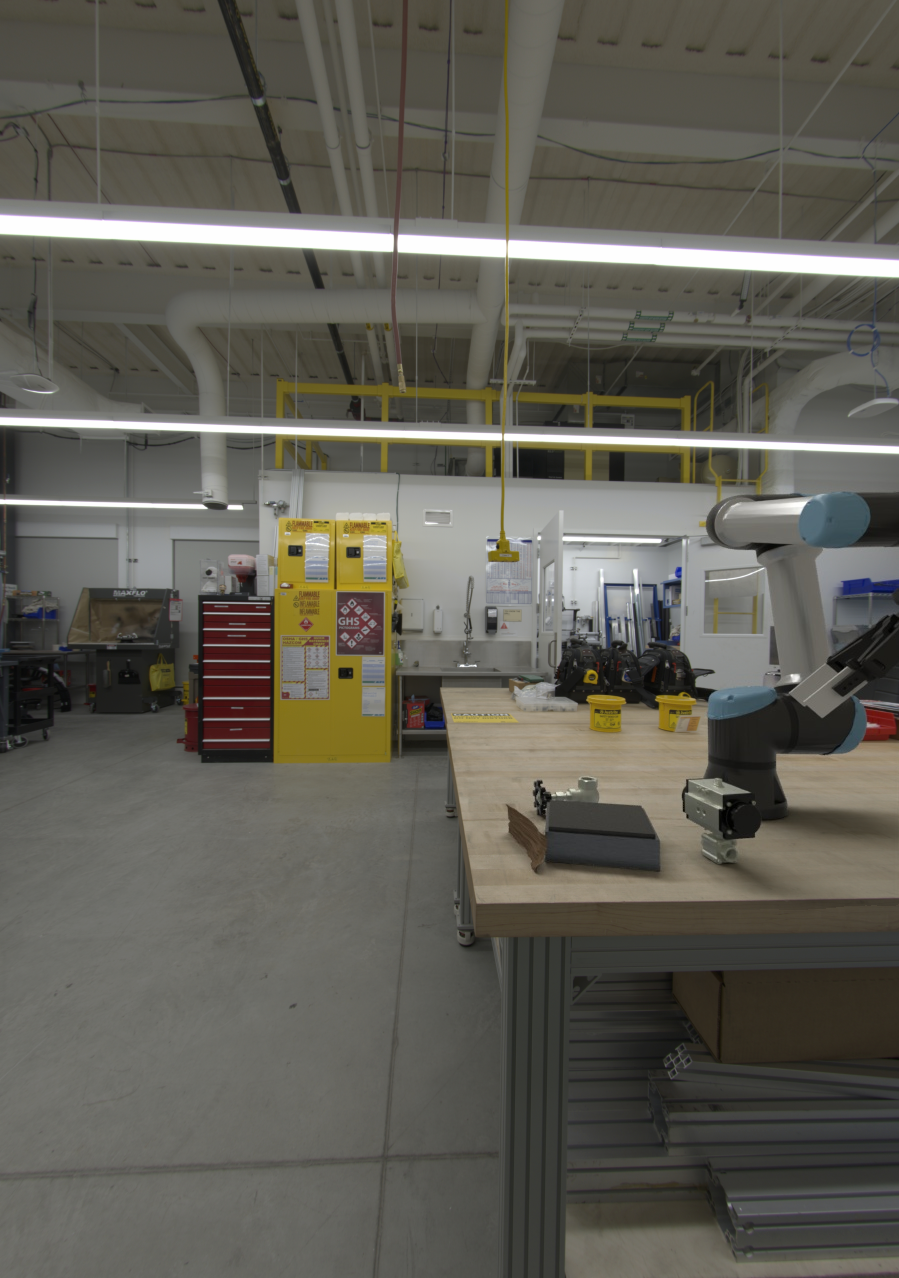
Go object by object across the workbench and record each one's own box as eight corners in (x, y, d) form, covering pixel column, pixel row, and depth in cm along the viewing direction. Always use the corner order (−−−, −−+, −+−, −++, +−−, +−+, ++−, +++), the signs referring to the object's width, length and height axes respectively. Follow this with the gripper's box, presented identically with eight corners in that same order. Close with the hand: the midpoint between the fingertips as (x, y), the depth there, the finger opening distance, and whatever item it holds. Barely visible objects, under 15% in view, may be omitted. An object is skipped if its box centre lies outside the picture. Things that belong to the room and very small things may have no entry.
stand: (643, 834, 86) (643, 804, 86) (660, 871, 72) (659, 835, 72) (547, 827, 89) (547, 798, 89) (545, 861, 75) (545, 827, 75)
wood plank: (500, 833, 87) (500, 804, 87) (512, 832, 87) (512, 803, 87) (535, 873, 72) (535, 838, 72) (549, 872, 72) (549, 836, 72)
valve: (592, 807, 100) (532, 809, 99) (592, 773, 100) (532, 775, 99) (605, 819, 94) (541, 821, 93) (605, 783, 94) (541, 784, 93)
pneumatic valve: (706, 842, 82) (706, 768, 82) (763, 875, 71) (762, 789, 71) (675, 845, 81) (675, 769, 81) (727, 878, 70) (727, 791, 70)
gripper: (1031, 604, 52) (849, 739, 58) (935, 616, 74) (811, 714, 81) (960, 556, 54) (793, 691, 61) (888, 582, 77) (771, 679, 83)
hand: (803, 704), depth 71 cm, fingers open, 13 cm apart
